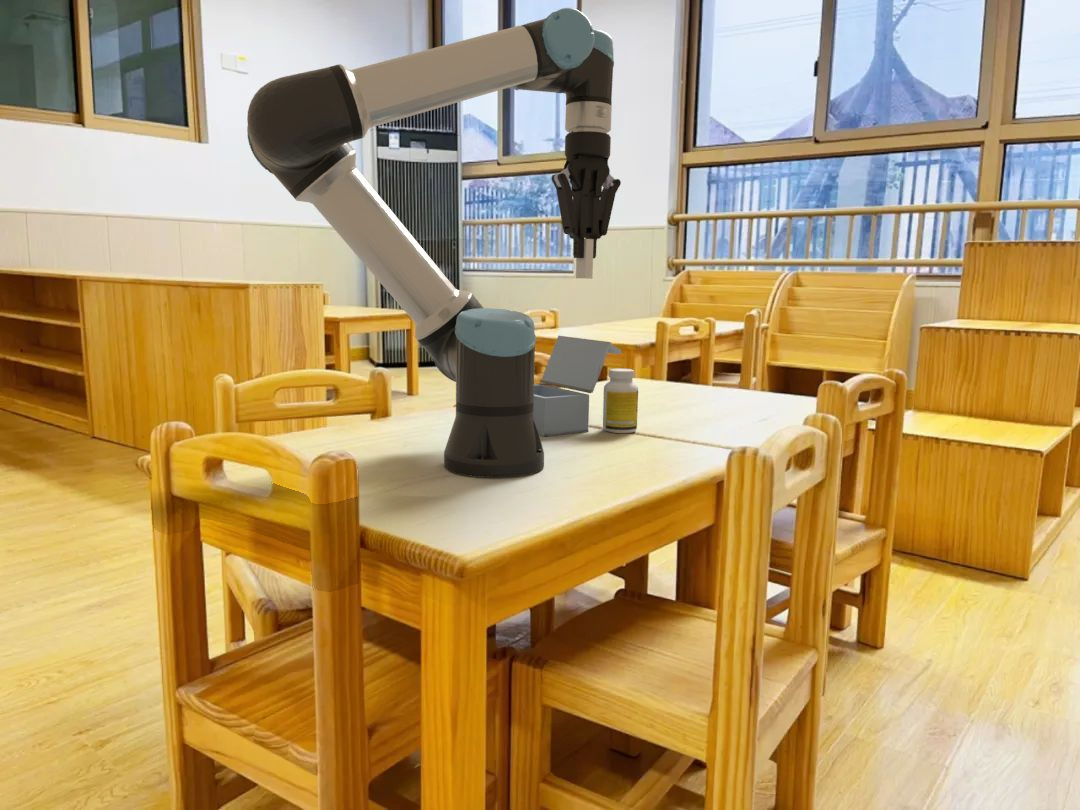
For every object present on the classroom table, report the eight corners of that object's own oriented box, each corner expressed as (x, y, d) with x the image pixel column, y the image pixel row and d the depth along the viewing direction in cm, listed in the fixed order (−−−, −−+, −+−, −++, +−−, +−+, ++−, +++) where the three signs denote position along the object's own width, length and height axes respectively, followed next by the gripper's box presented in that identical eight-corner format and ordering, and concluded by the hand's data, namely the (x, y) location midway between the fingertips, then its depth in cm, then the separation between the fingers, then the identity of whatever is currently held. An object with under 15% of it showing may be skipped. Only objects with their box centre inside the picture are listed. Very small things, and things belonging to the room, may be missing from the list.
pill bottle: (638, 434, 150) (640, 372, 148) (603, 433, 150) (605, 371, 148) (635, 428, 156) (637, 368, 155) (601, 427, 157) (603, 367, 155)
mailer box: (543, 436, 146) (544, 398, 145) (498, 422, 159) (499, 387, 158) (588, 431, 152) (589, 394, 151) (540, 418, 165) (541, 384, 164)
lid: (608, 341, 151) (626, 351, 154) (557, 334, 165) (574, 344, 167) (588, 392, 150) (607, 401, 153) (539, 382, 164) (557, 390, 166)
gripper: (569, 125, 127) (565, 278, 130) (633, 134, 134) (628, 279, 138) (542, 131, 133) (539, 277, 137) (605, 140, 140) (600, 278, 144)
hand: (584, 278), depth 137 cm, fingers closed
